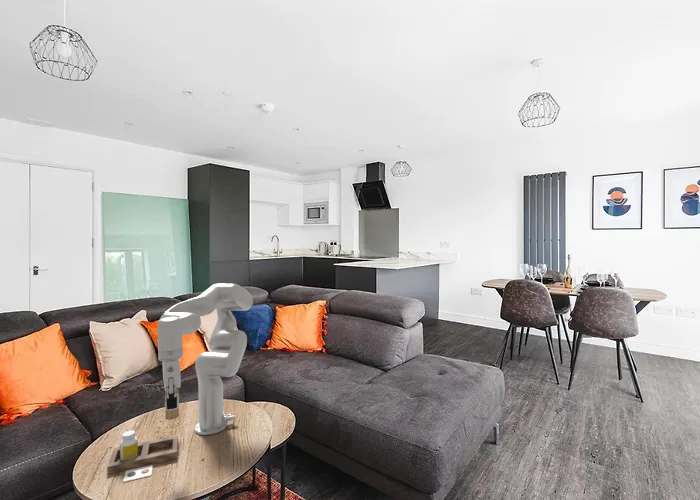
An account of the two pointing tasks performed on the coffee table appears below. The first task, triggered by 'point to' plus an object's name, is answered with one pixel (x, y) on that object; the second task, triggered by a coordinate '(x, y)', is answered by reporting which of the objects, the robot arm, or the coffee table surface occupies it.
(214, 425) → the robot arm
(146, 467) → the card
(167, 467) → the coffee table surface
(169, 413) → the sprinkles bottle
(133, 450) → the supplement bottle
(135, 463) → the bottle rack
